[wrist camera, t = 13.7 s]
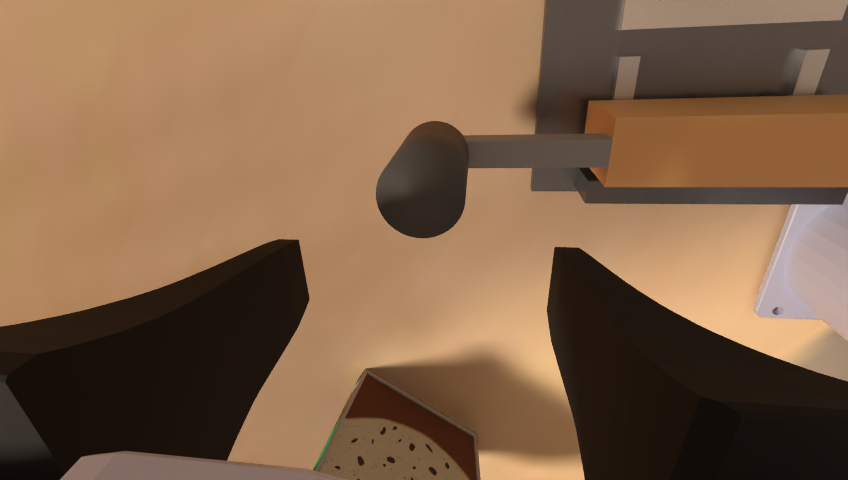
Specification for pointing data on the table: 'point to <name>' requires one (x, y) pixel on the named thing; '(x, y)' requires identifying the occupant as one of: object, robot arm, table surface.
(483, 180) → the table surface
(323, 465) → the food container
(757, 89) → the frame
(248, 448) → the table surface
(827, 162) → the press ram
